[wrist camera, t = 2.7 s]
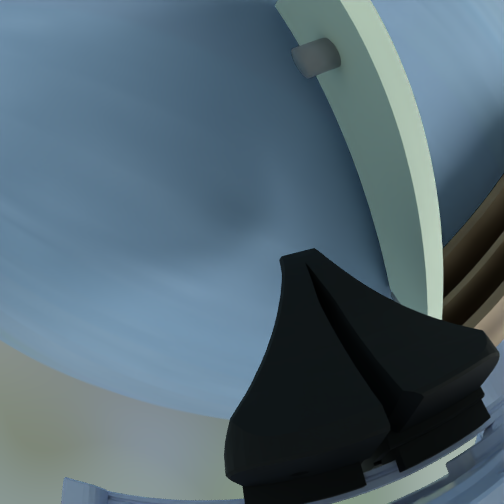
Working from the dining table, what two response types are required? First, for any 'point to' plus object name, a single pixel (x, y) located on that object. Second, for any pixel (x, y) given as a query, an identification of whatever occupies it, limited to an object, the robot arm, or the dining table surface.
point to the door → (377, 137)
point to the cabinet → (477, 270)
